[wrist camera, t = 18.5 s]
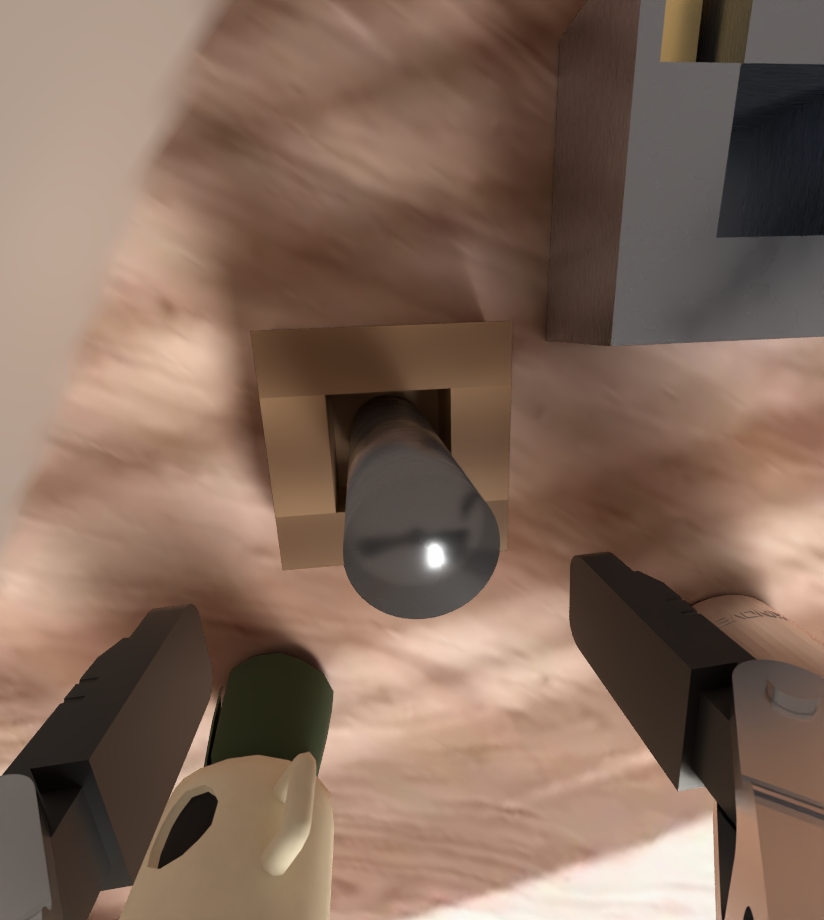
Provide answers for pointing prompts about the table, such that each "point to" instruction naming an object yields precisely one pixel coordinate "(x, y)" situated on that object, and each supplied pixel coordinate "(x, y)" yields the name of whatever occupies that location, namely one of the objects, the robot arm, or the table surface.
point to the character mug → (249, 808)
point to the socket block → (689, 177)
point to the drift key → (681, 30)
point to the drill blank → (412, 516)
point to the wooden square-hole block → (350, 386)
